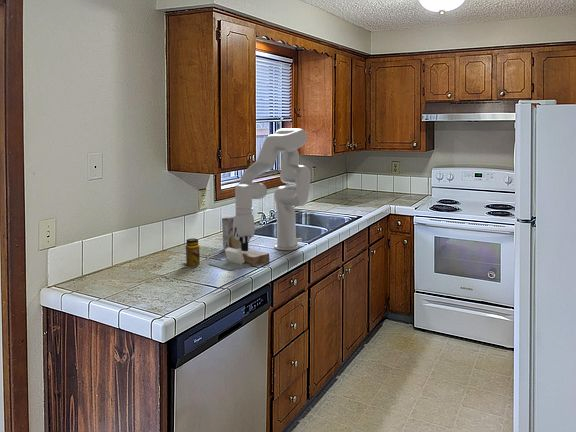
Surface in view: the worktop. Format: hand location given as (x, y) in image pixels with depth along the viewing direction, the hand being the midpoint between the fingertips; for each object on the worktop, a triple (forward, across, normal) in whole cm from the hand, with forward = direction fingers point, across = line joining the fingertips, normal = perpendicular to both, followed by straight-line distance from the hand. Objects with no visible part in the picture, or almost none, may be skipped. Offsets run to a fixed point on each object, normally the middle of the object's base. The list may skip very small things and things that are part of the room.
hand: (244, 250), depth 253 cm
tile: (+1, +5, 0) cm, 5 cm away
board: (+5, -2, 0) cm, 6 cm away
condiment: (+6, +21, -13) cm, 25 cm away
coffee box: (+5, -12, -23) cm, 27 cm away
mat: (+5, +9, 0) cm, 10 cm away
